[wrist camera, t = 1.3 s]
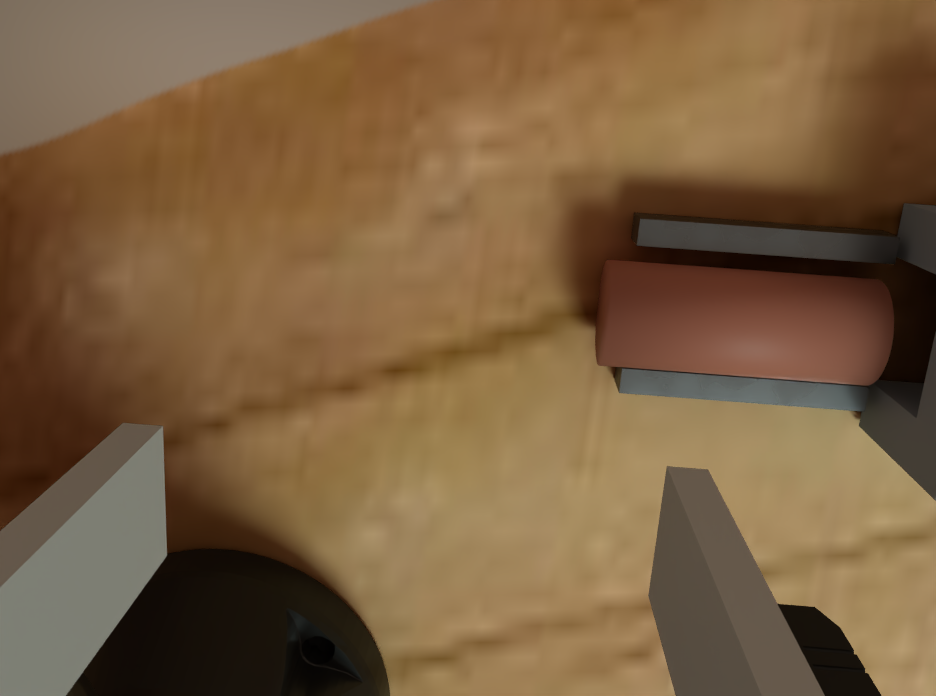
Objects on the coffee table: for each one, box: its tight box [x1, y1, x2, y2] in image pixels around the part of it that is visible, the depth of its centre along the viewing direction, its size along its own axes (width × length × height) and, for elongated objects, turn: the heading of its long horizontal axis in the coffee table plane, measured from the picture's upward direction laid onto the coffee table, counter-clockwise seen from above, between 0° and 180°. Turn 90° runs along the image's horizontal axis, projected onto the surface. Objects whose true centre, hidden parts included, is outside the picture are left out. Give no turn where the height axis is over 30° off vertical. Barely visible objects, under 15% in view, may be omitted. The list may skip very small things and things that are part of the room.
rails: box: [615, 213, 900, 412], centre depth 35 cm, size 10×7×2 cm
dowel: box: [595, 260, 894, 386], centre depth 34 cm, size 10×4×4 cm, turn 86°
